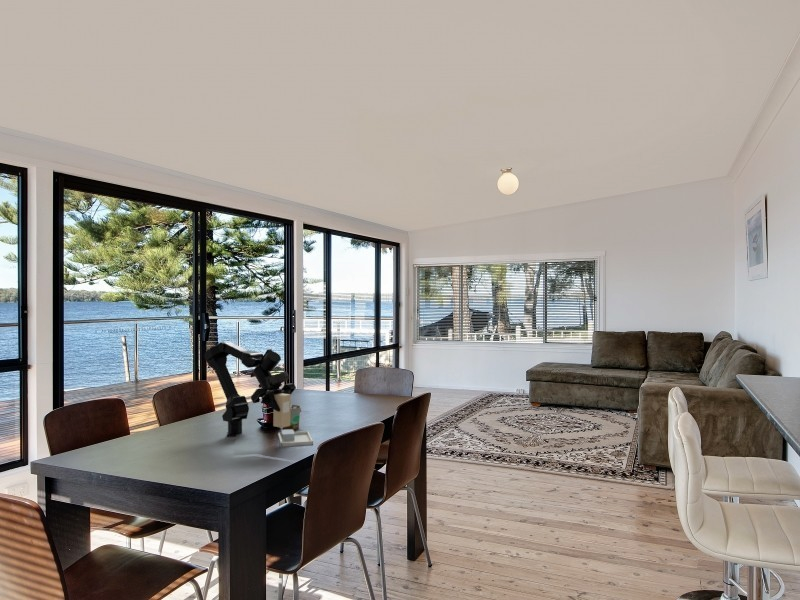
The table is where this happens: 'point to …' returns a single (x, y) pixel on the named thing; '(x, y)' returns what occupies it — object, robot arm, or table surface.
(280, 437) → the tray
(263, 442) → the table surface
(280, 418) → the labelled carton
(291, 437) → the white rectangular block
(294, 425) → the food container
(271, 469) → the table surface
